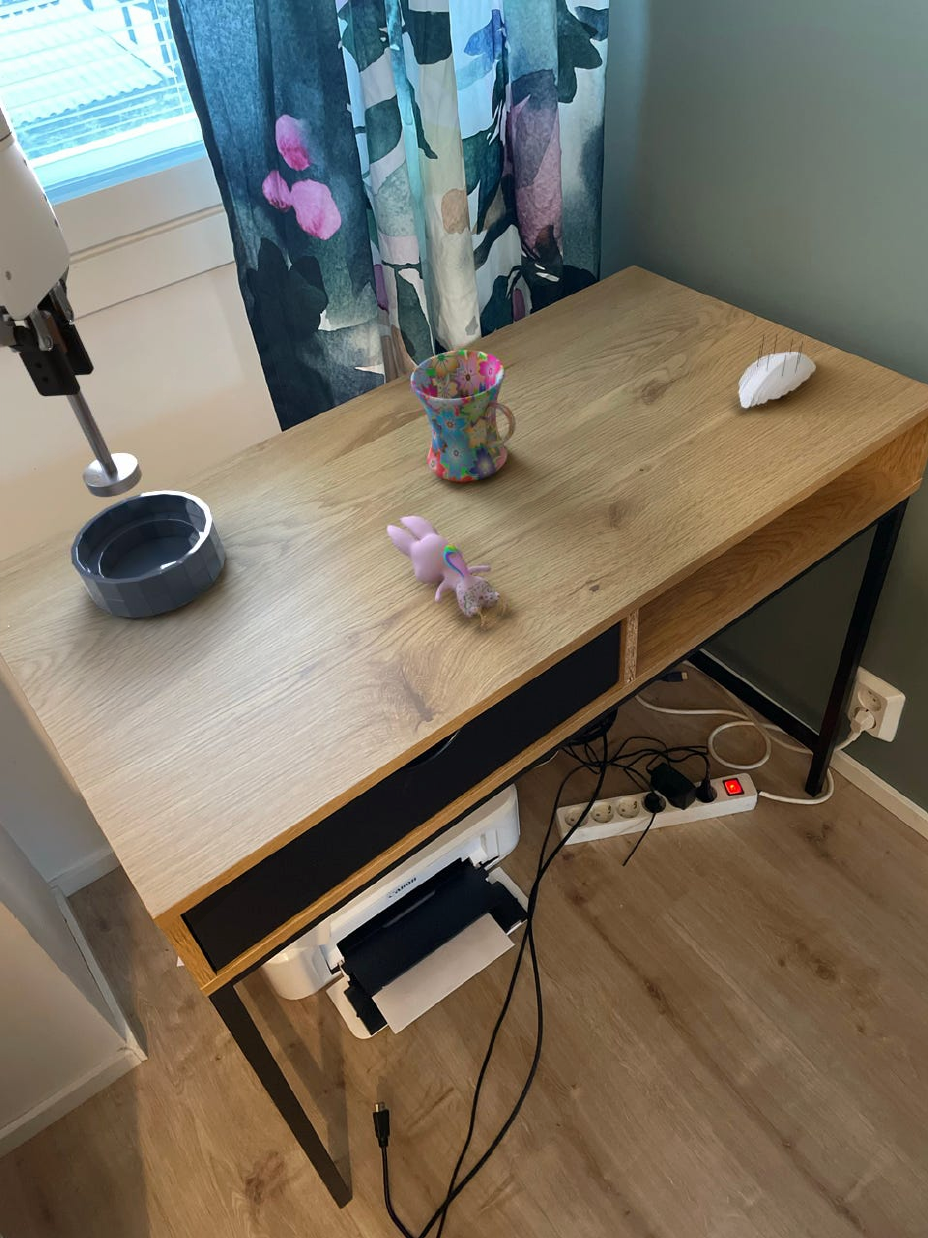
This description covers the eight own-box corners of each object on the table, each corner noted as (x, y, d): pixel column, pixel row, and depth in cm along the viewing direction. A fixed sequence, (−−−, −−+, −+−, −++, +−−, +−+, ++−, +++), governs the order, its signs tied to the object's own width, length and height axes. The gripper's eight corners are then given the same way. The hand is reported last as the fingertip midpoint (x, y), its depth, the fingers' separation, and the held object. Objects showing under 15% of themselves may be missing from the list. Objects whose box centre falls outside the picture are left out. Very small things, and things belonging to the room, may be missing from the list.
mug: (407, 467, 96) (391, 379, 88) (468, 427, 100) (458, 340, 92) (486, 512, 89) (476, 421, 81) (549, 467, 93) (545, 376, 85)
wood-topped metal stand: (112, 503, 74) (30, 337, 63) (77, 488, 76) (-8, 324, 65) (153, 472, 77) (81, 307, 66) (118, 458, 79) (43, 296, 68)
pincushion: (782, 354, 103) (790, 308, 99) (830, 371, 100) (840, 324, 96) (719, 400, 98) (725, 353, 94) (767, 420, 95) (775, 372, 91)
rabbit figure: (522, 614, 81) (421, 519, 88) (526, 571, 76) (419, 474, 83) (469, 650, 78) (369, 549, 85) (469, 608, 73) (363, 505, 80)
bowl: (156, 640, 81) (135, 601, 78) (64, 593, 87) (41, 555, 84) (254, 553, 88) (240, 514, 85) (163, 515, 94) (146, 476, 91)
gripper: (-51, 92, 62) (62, 335, 76) (-180, 180, 51) (-22, 446, 65) (50, 81, 62) (146, 329, 75) (-60, 169, 51) (75, 441, 64)
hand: (67, 381), depth 70 cm, fingers closed on wood-topped metal stand
